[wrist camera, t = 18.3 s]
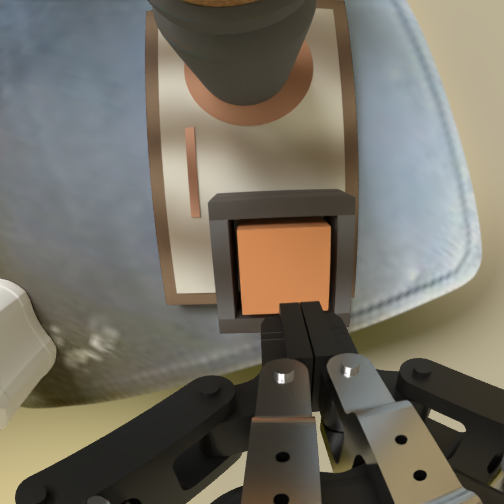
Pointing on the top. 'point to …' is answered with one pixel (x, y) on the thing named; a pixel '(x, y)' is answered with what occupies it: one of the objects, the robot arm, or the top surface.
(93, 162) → the top surface
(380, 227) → the top surface
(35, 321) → the jar
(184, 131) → the tray
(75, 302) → the top surface
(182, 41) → the bottle
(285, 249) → the button
